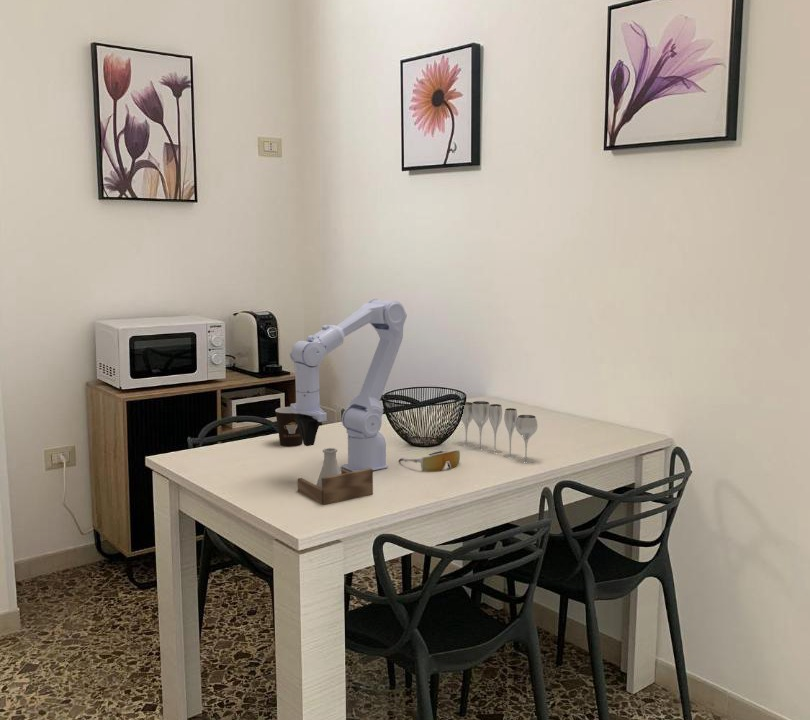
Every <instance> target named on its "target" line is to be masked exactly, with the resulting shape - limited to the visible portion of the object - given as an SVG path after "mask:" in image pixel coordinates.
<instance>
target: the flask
mask: <svg viewBox="0 0 810 720" xmlns="http://www.w3.org/2000/svg"><path fill="white" fill-rule="evenodd" d="M337 452H338V448H336V447H335V448H334V447H327V448H324V449H322V453H323V462H322V467H321V471H320V473H319V477H318V478H317V481H316V484H315V485H317V486H319V487H321V488H322V478H324V477H329V476H334V475H339V474H341V469H340V467H339V464H338V460H337Z"/></svg>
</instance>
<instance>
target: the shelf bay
mask: <svg viewBox="0 0 810 720" xmlns="http://www.w3.org/2000/svg"><path fill="white" fill-rule="evenodd" d="M340 473H341V474H339V475H334V476H329V477H324V478H322V488H321V487H319V486H317V485H316V484H315V483H312V482H311V481H308V480H306V479H304V478H302V477H299V478H296V479H297V481H296V482H297V492H299V493H301V494H303V495H305V496H306V497H308V498H309V499H312V500H314V501H316V502H318V503H320V504H321V505H324V506H326V505H330V504H334V503H339V502H343V501H348V500H353V499H357V498H363V497H367V496H371V495H374V478H373V477H374V474H373V473H374V470H373V469H371V468H369V469H364V470H359V471H354V472H352V471H350V470H348V469H345V468H343V469H340Z"/></svg>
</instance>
